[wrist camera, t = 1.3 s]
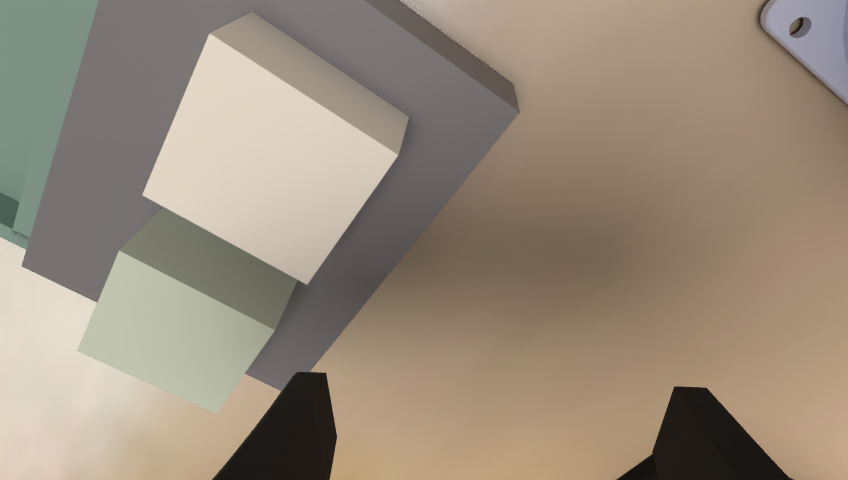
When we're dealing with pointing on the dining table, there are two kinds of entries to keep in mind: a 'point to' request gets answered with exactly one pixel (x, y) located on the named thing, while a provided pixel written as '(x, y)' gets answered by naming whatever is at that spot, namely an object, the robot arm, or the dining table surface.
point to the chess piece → (643, 471)
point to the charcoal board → (157, 106)
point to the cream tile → (274, 147)
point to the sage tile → (186, 310)
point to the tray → (35, 99)
